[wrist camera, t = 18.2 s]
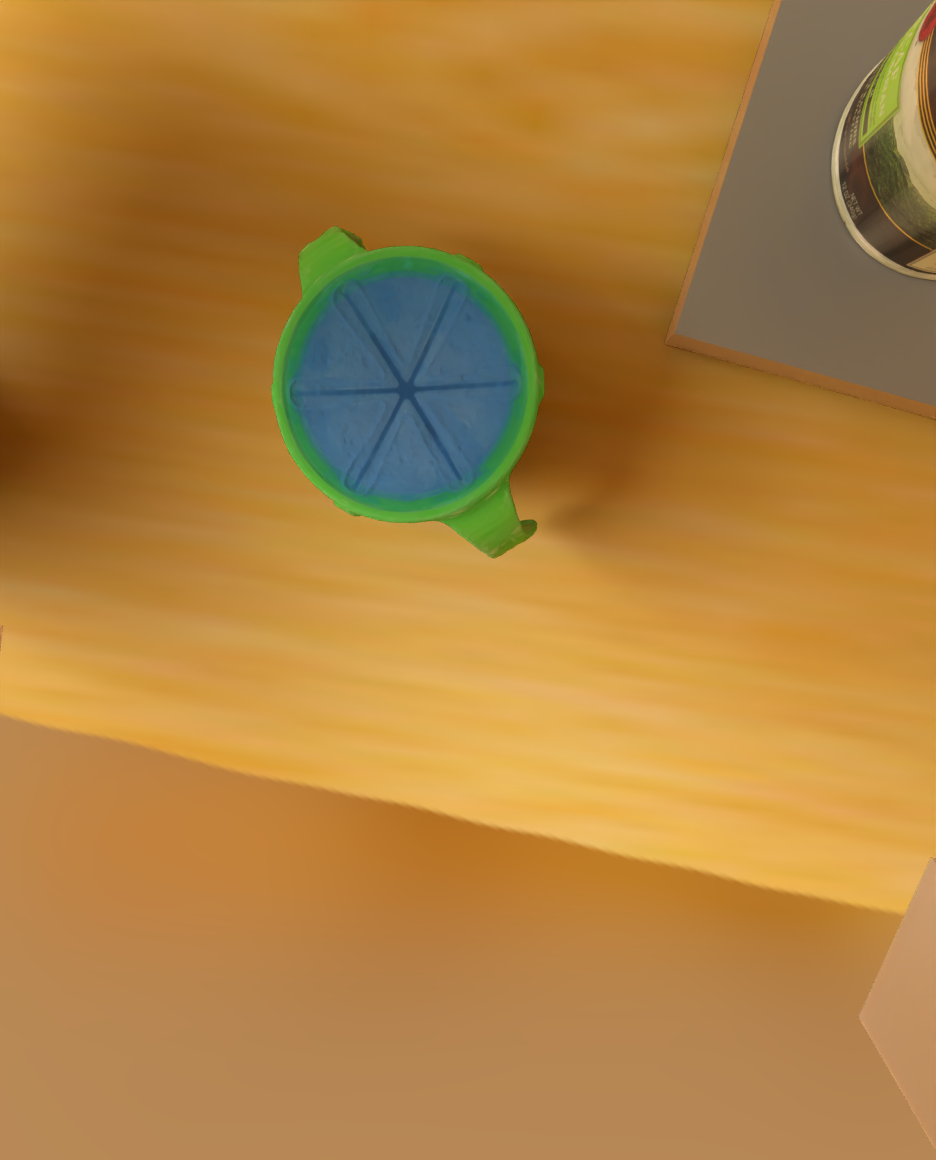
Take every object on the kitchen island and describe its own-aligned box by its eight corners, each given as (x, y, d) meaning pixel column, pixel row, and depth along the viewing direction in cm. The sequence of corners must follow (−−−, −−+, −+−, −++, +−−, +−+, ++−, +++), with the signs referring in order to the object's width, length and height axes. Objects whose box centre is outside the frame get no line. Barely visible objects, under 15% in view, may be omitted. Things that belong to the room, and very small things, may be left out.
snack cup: (281, 315, 39) (191, 263, 29) (464, 215, 37) (435, 123, 27) (414, 585, 40) (372, 625, 30) (595, 500, 39) (614, 512, 29)
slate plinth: (664, 343, 37) (674, 333, 34) (806, -101, 34) (831, -155, 31) (1024, 444, 36) (1067, 443, 34) (1208, -2, 33) (1273, -47, 30)
